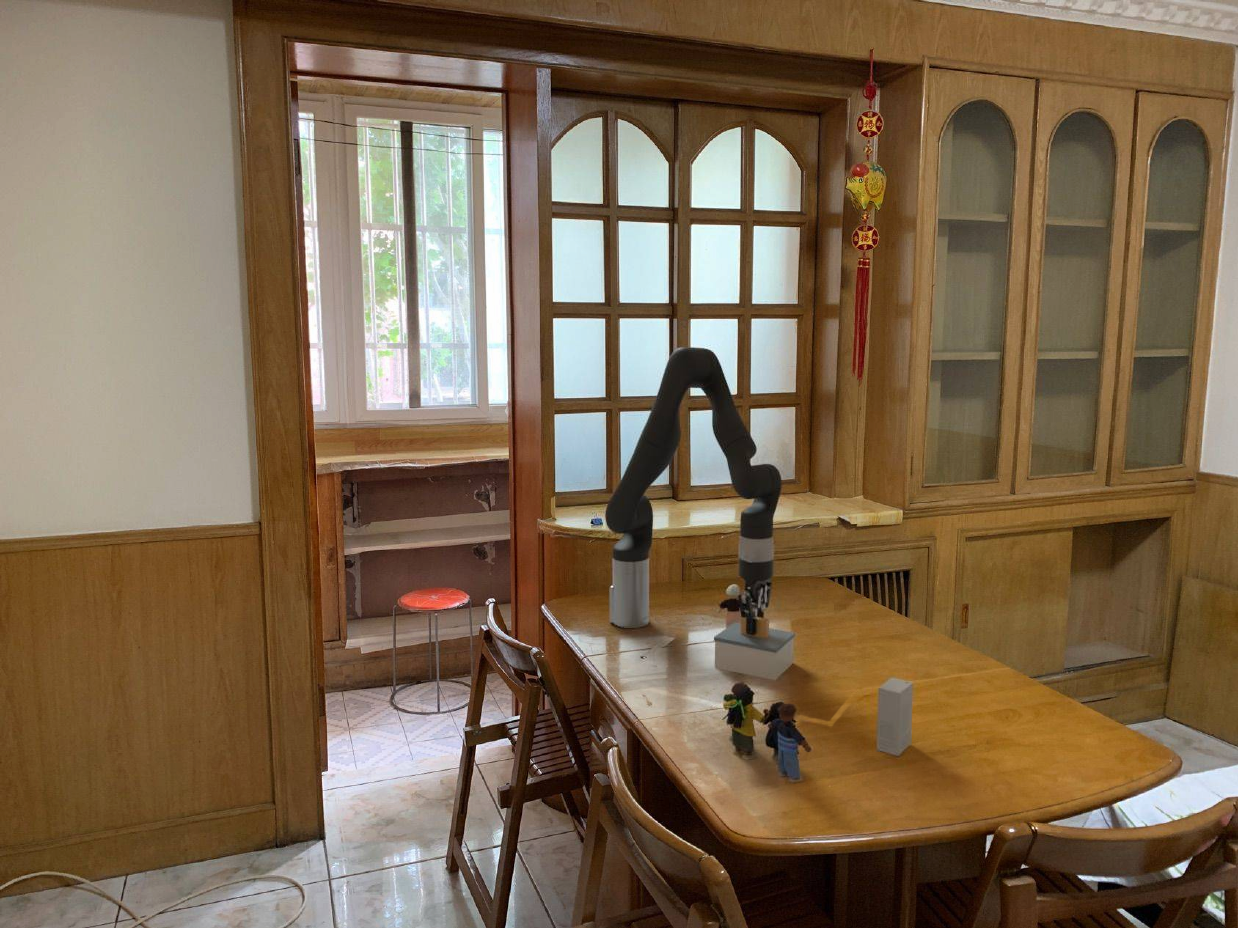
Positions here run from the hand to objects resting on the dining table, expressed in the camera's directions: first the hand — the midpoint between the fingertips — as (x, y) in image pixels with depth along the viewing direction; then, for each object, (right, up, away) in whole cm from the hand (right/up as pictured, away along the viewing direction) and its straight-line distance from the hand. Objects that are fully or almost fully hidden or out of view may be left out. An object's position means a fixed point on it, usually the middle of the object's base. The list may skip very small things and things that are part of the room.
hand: (754, 631), depth 197 cm
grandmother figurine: (-2, -5, +23) cm, 24 cm away
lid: (0, -3, 0) cm, 3 cm away
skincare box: (+20, -15, -35) cm, 43 cm away
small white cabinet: (0, -9, +1) cm, 9 cm away
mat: (-15, -7, +10) cm, 19 cm away
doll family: (-4, -16, -39) cm, 43 cm away
